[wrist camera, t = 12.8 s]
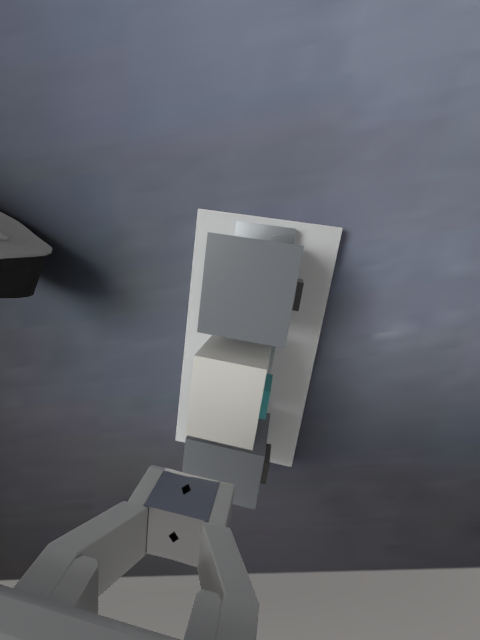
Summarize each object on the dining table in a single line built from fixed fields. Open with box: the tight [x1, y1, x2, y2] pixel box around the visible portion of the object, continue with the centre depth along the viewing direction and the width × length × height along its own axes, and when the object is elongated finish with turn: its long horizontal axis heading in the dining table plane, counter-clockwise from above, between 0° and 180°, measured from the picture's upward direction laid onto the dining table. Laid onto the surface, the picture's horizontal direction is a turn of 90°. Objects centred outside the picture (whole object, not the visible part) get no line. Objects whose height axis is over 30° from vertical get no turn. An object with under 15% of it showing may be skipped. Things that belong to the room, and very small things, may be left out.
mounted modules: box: [182, 232, 304, 510], centre depth 20 cm, size 16×5×5 cm, turn 172°
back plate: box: [176, 209, 343, 467], centre depth 24 cm, size 19×10×1 cm, turn 172°
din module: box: [185, 335, 273, 450], centre depth 20 cm, size 5×4×6 cm
